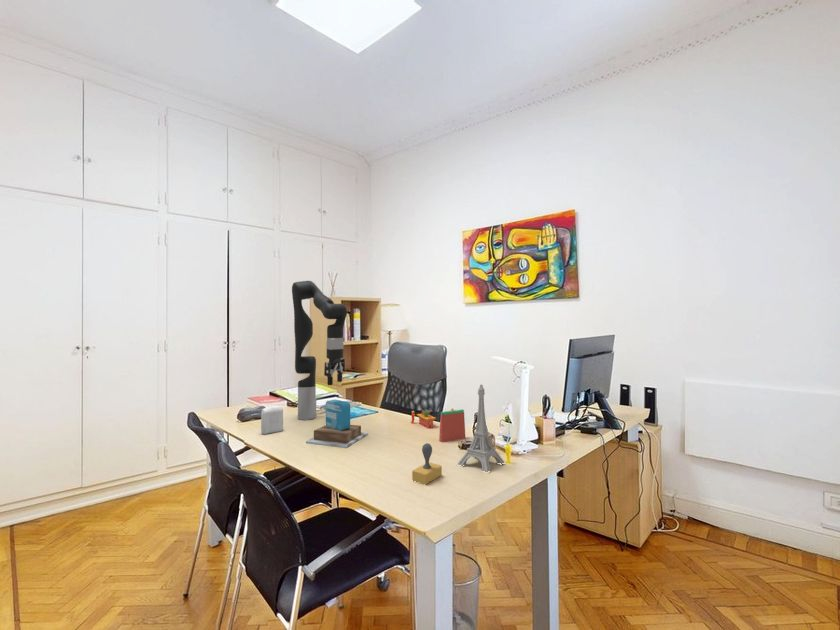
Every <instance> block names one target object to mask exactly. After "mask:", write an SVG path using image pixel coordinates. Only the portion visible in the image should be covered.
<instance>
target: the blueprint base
mask: <svg viewBox="0 0 840 630" xmlns="http://www.w3.org/2000/svg"><path fill="white" fill-rule="evenodd" d="M368 435H369V433H368V432H362V426H361V425H357V424H356V425H355V424H350V428H349V429H346V430H342V431H340V430H336V429H332V428H328V427H327V426H326V424H325V425H323V426H320V427H318V428H317V429H314V430H313V437H312V438H310V439H308V440H305V444H311V445H319V446H327V447H335V448H345V449H348V448H349V447H351V446H352V445H354V444H355V443H357V442H358V441H360V440H362V439H364V438H365V437H367V436H368Z"/></svg>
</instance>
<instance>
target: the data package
mask: <svg viewBox="0 0 840 630" xmlns="http://www.w3.org/2000/svg"><path fill="white" fill-rule="evenodd" d="M325 425H326V426H327V427H328V428H332V429H336V430H340V431H342V430H346V429H349V428H350V425H351V403H350V402H349V401H345V400H344V401H343V400H339V399H331V400H326V402H325Z"/></svg>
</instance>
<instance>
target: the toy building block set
mask: <svg viewBox="0 0 840 630" xmlns="http://www.w3.org/2000/svg"><path fill="white" fill-rule="evenodd" d="M430 413H432V412H431V410H429V409H423V410H421V413H416V414H415V410H411V415H410V416H411V421H410V423H411V424H414V422H415V417H416V416H417V417H418V421H419V422H418V425H420V426H423V427H425V428H426V429H430V428H434V421H435V420H436V419H437V417H435V416H433V415H431V414H430ZM439 417H440V419H439V420H440V421H439V440H438V441H439V442H441V443H445V442H452V441H458V440H464V439H466V423H465V410H464V409H455V410H454V408H451V410H447V411H445V410H444V411H440V416H439Z"/></svg>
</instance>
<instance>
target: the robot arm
mask: <svg viewBox="0 0 840 630" xmlns="http://www.w3.org/2000/svg"><path fill="white" fill-rule="evenodd" d="M291 285H292V286H291V295H292V303H293V313H294V315H293V317H294V319H293V322H294V323H293V324H294V326H293V327H294V328H293V329H294V330H293V331H294V332H293V333H294V345H295V346H294V347H295V348H294V349H295V350H294V353H295V354H294V357H295V358H294V370H295V373H296V374H298V375H299V374H300V375H304V374H309V375H308V376H307V377H305V378H302V379H300V380H299V381H298V382H297V419H298V420H300V421H306V420H307V421H308V420H313V419H316V417H317V397H316V396H317V395H316V390H317V389H316V375H317V374H316V373H317V371H316V370H317V359H316V357H315V356H312V355H310V356H308V355H307V356H302V354H303V351H304V349H305V348H306V346H307V345H308V344H309V342H310V341H311V339H312V337H313V335H314V334H313V332H314V331H313V330H314V329H313V327H314V324H313V321H312V319H311V318H310V316H309V315H308V314H307V313H306V311H305V310H304V307H303V302H302V301H303V300H309V299H312V300H313V304H314V306H315V308H317V309H318V310H319V311H320V312H321V314H322V316H323V318H324V319H327V320H335V322H334V323H332V324H329V325H327V327H326V328H327V329H326V337H327V338H326V359H328V361H327V362H326V361H325V362H324V370H323V372H324V374H323V375H324V376H325V377H326V378H327V385H328V386H333V385H334V384H333V381H334V376H333V375H334V374H335V373H336V372H337V374H336V377H337V378H336V381H337V383H341V382H343V374H344V372H345V371H346V360H345V358H344V338H343V337H344V326H345V321H346V318H347V313H348V311H347V307H346V305H345V304H343V303H334V301H333V300H332V299H331V298H330V297H329V296H326V295H325V294H324V292H322V291H321V289H320V288H319V287H318V286H317V285H316V283H315V282H313V281H311V280H303V281H295V282H293V283H292V284H291Z"/></svg>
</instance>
